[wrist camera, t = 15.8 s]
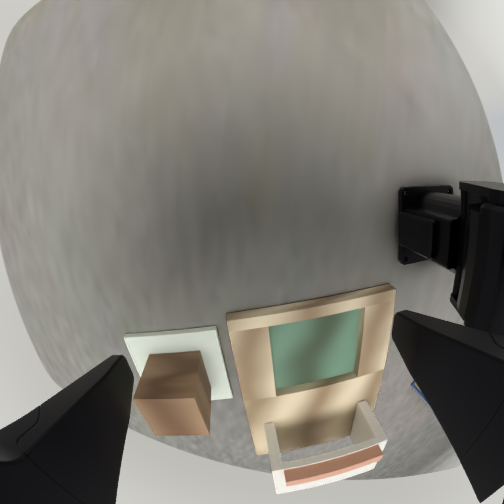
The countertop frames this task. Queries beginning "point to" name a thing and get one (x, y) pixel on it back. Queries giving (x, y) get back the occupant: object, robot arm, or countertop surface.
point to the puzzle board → (311, 364)
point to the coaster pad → (182, 342)
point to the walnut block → (175, 394)
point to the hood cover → (330, 456)
